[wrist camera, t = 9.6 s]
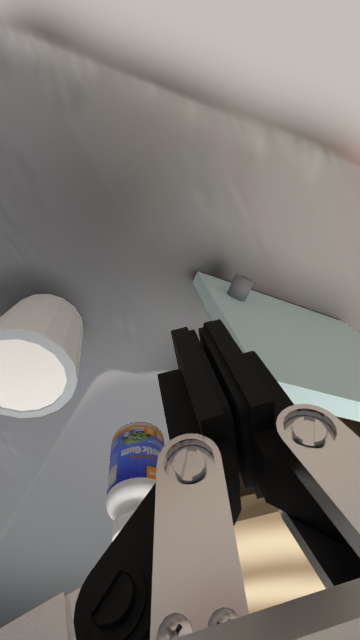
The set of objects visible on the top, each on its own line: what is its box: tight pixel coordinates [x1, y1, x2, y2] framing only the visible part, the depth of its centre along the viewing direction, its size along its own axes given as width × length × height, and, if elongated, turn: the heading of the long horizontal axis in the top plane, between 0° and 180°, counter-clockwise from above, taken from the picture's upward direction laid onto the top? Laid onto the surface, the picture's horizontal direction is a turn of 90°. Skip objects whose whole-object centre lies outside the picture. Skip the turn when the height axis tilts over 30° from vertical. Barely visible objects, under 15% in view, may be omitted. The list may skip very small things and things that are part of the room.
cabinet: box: [234, 416, 360, 614], centre depth 26 cm, size 14×16×14 cm
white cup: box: [0, 294, 84, 418], centre depth 22 cm, size 7×7×7 cm
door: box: [193, 271, 360, 422], centre depth 20 cm, size 2×15×14 cm, turn 68°
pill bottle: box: [106, 422, 164, 542], centre depth 28 cm, size 5×5×10 cm
